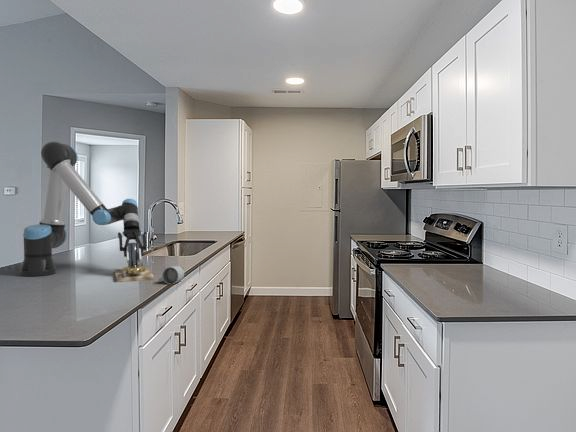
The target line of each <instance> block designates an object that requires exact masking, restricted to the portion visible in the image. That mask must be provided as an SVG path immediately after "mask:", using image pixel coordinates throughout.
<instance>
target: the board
mask: <svg viewBox="0 0 576 432" xmlns="http://www.w3.org/2000/svg"><path fill="white" fill-rule="evenodd" d="M140 266H145V262H140ZM114 275H115V280H116V283H122V282H123V283H125V282H139V281H141V282H142V281H153V280H155V276H154V274H153V273H152V271H151V269H150V268H149V267H146V271H145V272H141V273H140V272H138V276H131V273H126V271H123V268H117V269H116V268H115V269H114Z"/></svg>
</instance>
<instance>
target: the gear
mask: <svg viewBox="0 0 576 432" xmlns="http://www.w3.org/2000/svg"><path fill="white" fill-rule="evenodd" d="M146 268H147V266H145V265H144V266H141V265H139V266H136V265H133V266H128V265H127V266H123V268H122V269H123V271H126V273H131V276H138V272H140V273H141V272H145V271H146Z"/></svg>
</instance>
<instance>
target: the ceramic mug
mask: <svg viewBox="0 0 576 432" xmlns="http://www.w3.org/2000/svg"><path fill="white" fill-rule="evenodd" d="M161 276H162V277H160V278H158V282H159V283H162V282H164V283H165V284H166V285H175V284H176V283H179V282H181V281H182V280H183V279H184V277H185V271H184V269H183V268H182V267H181V266H179V265H173V266H167V267H166V268H164V270H163V271H162V275H161Z"/></svg>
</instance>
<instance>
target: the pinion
mask: <svg viewBox="0 0 576 432" xmlns="http://www.w3.org/2000/svg"><path fill="white" fill-rule="evenodd" d="M127 249H128V253H129V263H127V267H128V266H133V265H136V266H140V262H139V243H137V242H129V243H128V247H127Z"/></svg>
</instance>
